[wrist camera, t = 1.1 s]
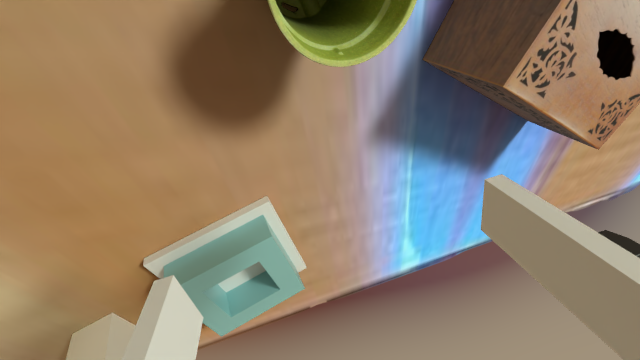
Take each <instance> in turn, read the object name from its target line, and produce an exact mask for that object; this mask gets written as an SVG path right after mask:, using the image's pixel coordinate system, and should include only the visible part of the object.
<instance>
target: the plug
mask: <svg viewBox="0 0 640 360" xmlns="http://www.w3.org/2000/svg"><path fill="white" fill-rule="evenodd" d="M135 326H136V325H134V324H132V323H130V322H128V321H127V320H125V319H123V318H121V317H119V316H118V315H116V314H114V313H111V314H109V315H107V316H105V317H103V318H101V319H99V320H97V321H95V322H94V323H92V324H90V325H88V326H86V327H84V328H82V329H80V330H78V331H77V332H75V333H73V334H72V337H71V341H70V345H69V349H68V353H67V357H66V360H122V358H123V356H124V353H125V351H126V348H127V346H128V343H129V341H130V339H131V336H132V334H133V331H134V329H135Z"/></svg>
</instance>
